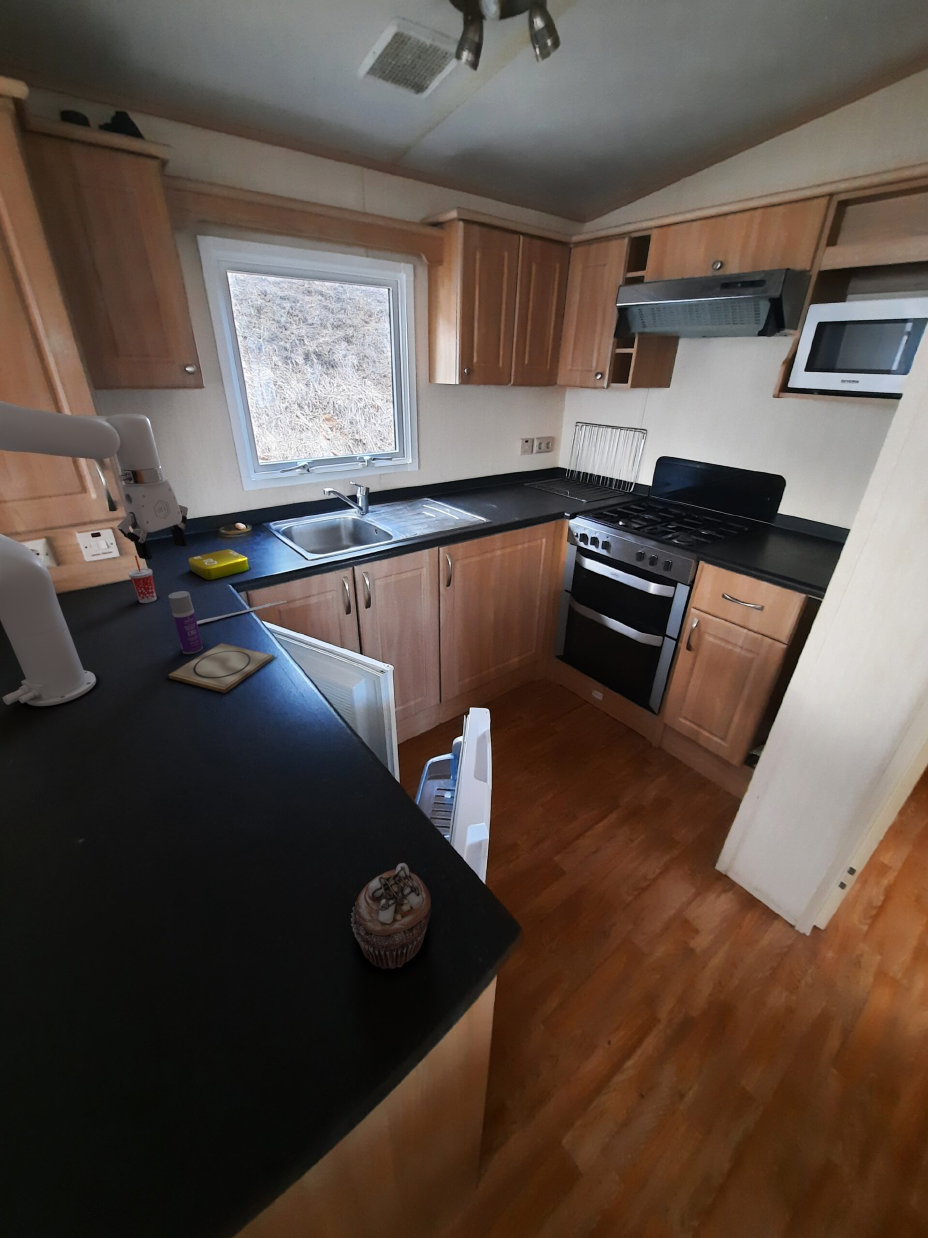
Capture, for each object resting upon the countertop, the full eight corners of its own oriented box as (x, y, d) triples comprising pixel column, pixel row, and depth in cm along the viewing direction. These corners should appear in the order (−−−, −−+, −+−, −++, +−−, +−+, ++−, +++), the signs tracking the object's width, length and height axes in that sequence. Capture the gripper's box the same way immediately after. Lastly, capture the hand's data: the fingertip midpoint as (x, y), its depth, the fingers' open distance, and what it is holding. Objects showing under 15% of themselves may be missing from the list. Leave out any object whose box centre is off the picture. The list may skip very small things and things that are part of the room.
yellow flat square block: (251, 569, 177) (249, 556, 175) (208, 581, 167) (205, 567, 165) (231, 559, 186) (228, 547, 184) (189, 570, 176) (185, 556, 173)
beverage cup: (164, 598, 154) (152, 554, 148) (144, 605, 149) (131, 560, 143) (151, 594, 157) (139, 551, 150) (131, 601, 152) (118, 557, 145)
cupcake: (402, 886, 70) (399, 835, 65) (446, 941, 63) (446, 888, 59) (339, 931, 64) (332, 878, 60) (381, 996, 58) (376, 942, 53)
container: (194, 655, 124) (180, 599, 118) (177, 653, 125) (163, 597, 118) (207, 646, 128) (194, 591, 122) (190, 644, 129) (176, 589, 123)
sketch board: (225, 693, 110) (224, 688, 110) (169, 678, 115) (168, 673, 114) (273, 658, 124) (273, 654, 123) (222, 646, 128) (221, 642, 128)
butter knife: (187, 621, 139) (189, 625, 137) (284, 599, 154) (287, 602, 152) (187, 623, 139) (190, 627, 137) (284, 601, 154) (288, 604, 152)
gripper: (119, 485, 100) (143, 566, 108) (189, 470, 115) (205, 542, 122) (92, 482, 102) (117, 562, 110) (163, 467, 117) (181, 539, 125)
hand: (164, 551), depth 116 cm, fingers open, 9 cm apart
